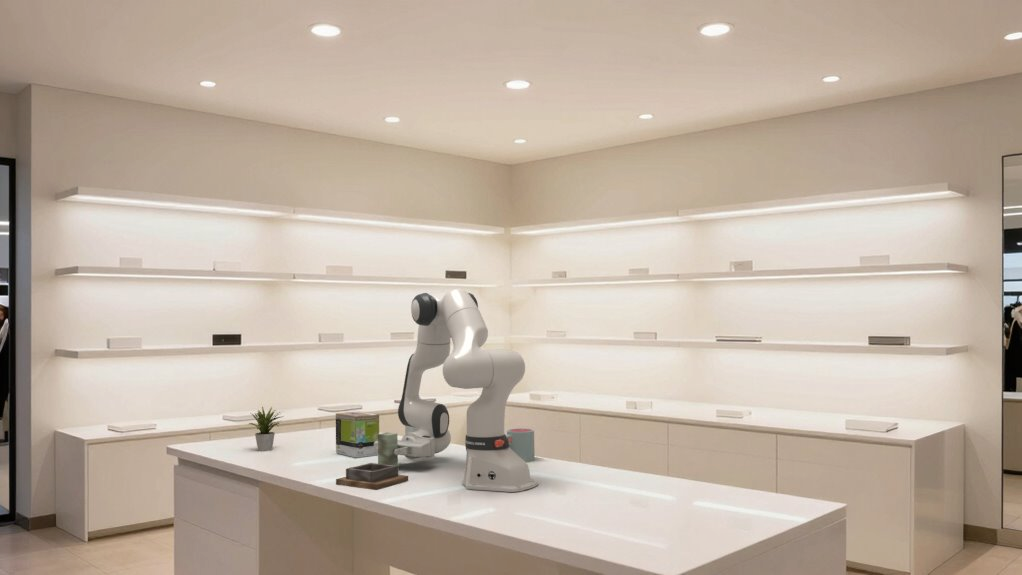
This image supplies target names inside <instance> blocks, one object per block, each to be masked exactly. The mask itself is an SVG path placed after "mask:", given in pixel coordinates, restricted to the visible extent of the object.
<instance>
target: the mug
mask: <svg viewBox="0 0 1022 575" xmlns="http://www.w3.org/2000/svg"><path fill="white" fill-rule="evenodd" d="M505 435H506V437H507V438H508V439H509V438H512V439H511V440H510V441H512V442H509V445H510V448H511V449H512V450H513V451H514V452H515V453H516V454H517V455H518V456H519V457H521V458H522V459H523V460H524V461H525V462H526V463H531V462H535V460H536V459H535V458H536V457H535V453H536V452H535V429H533V428H527V427H526V428H520V427H519V428H510V429H509V428H508V429H507V430H506V434H505Z"/></svg>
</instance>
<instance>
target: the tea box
mask: <svg viewBox="0 0 1022 575" xmlns="http://www.w3.org/2000/svg"><path fill="white" fill-rule="evenodd" d="M378 434H380V414H379V413H373V412H366V411H365V412H364V411H345V412H339V413H335V453H336V454H339V455H344V456H348V457H353V458H355V459H357V458H365V457H367V458H368V457H373V456H378V453H375V452H374V442H375V441H378Z"/></svg>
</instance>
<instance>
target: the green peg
mask: <svg viewBox="0 0 1022 575" xmlns="http://www.w3.org/2000/svg"><path fill="white" fill-rule="evenodd" d="M398 440H399V439H398V433H395V432H384V433H383V432H382V433H379V434H378V455H377V464H386V465H395V466H398V467H399V458H398V457H399V455H393V449H398Z"/></svg>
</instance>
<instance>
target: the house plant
mask: <svg viewBox="0 0 1022 575" xmlns="http://www.w3.org/2000/svg"><path fill="white" fill-rule="evenodd" d="M261 410H262V412H261ZM261 410H259V409H257V413H256V412H254V414H255V415H254V414H253V413H251V416H252V417H253V418H254V419H255V421H256V422H257V424H256V423H253V422H250V423H248V425H252V426H255V427H256V430H259V431H258V432H256V433H254V435H255V442H256V446H257V451H259V452H269V451H273V447H274V438H275V433H276V432H275V431H271V430H273V427H275V426H277V427H278V428H280V427H279V425H280V422H281V420H280V421H277V422H274V421H275V420H278V419H281V418H284V417H285V415H283V416H279V415H280V414H281V413H283V412H284V410H282V411H278V412H277V409H274V410H273V407H272V406H271V407H270V408H269V410H268V412H267V413H265V409H264V407H263V406H262V407H261ZM277 416H278V417H277Z"/></svg>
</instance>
